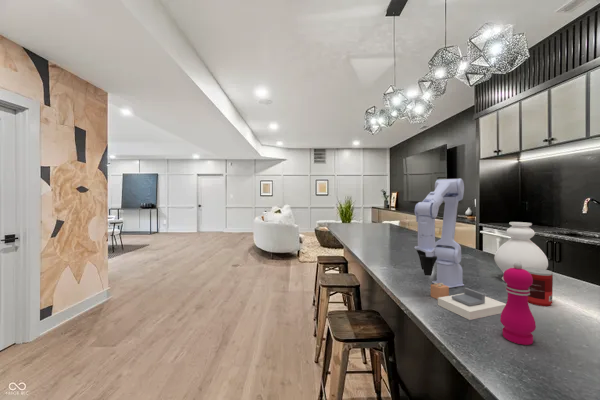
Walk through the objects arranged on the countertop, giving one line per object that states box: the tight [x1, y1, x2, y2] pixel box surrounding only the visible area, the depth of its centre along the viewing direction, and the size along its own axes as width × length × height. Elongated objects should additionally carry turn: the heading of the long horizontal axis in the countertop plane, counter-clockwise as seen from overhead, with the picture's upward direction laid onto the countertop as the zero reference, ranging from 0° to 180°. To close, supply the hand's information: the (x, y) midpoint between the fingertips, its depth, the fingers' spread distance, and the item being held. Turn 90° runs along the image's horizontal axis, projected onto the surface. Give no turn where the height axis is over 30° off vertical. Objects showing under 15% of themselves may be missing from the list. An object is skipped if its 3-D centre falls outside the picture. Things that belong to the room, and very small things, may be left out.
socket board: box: [437, 292, 506, 321], centre depth 91 cm, size 16×12×2 cm
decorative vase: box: [494, 221, 549, 282], centre depth 117 cm, size 18×18×25 cm
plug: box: [430, 283, 450, 300], centre depth 100 cm, size 4×4×5 cm
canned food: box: [524, 268, 554, 307], centre depth 95 cm, size 8×8×11 cm
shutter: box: [452, 287, 486, 306], centre depth 90 cm, size 7×7×3 cm
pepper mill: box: [499, 262, 537, 346], centre depth 72 cm, size 7×7×20 cm
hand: (426, 272), depth 100 cm, fingers open, 7 cm apart
